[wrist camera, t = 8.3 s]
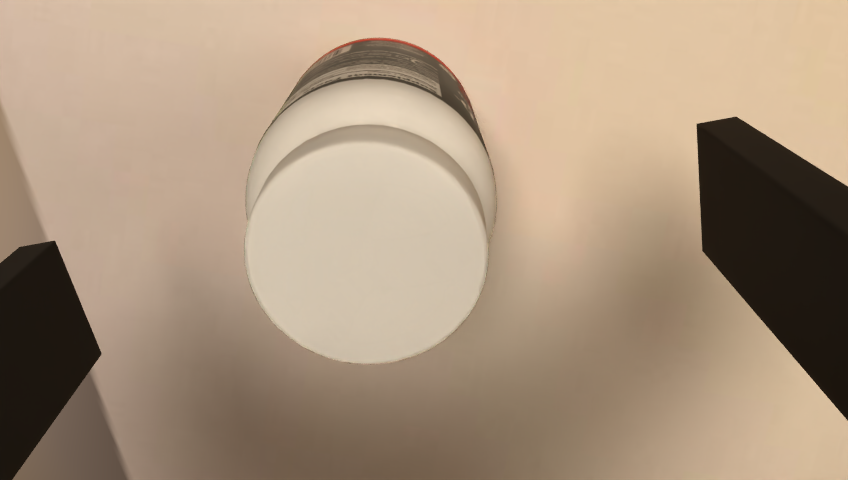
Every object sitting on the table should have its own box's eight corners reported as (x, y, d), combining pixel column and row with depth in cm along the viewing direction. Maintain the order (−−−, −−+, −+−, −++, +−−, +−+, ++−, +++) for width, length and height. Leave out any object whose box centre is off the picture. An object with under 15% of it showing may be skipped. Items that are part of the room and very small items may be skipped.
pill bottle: (467, 216, 25) (503, 394, 16) (291, 212, 25) (224, 390, 15) (478, 35, 22) (528, 120, 13) (284, 29, 22) (201, 111, 13)
